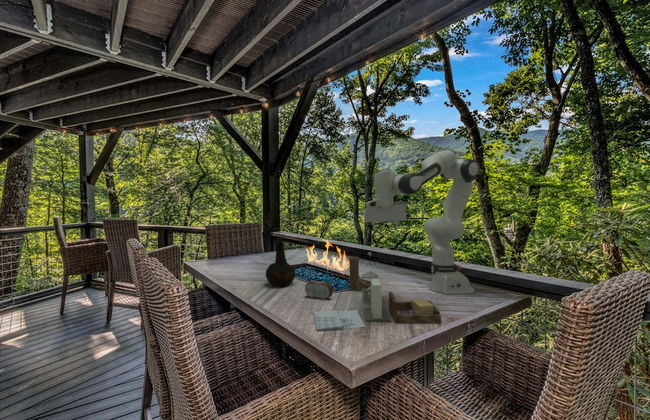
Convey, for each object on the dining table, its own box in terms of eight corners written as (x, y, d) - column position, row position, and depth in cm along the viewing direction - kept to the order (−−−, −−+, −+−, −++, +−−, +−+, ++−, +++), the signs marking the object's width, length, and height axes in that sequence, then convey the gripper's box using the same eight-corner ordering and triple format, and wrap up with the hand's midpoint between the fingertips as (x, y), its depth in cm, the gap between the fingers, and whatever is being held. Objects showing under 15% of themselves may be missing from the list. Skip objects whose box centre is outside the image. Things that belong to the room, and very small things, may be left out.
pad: (385, 309, 144) (385, 308, 144) (390, 321, 130) (390, 320, 130) (363, 309, 144) (363, 308, 144) (365, 321, 130) (365, 320, 130)
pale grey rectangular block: (379, 309, 142) (378, 278, 142) (381, 318, 131) (381, 285, 131) (371, 309, 143) (370, 278, 142) (373, 318, 132) (372, 285, 131)
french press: (376, 308, 145) (375, 254, 144) (353, 304, 151) (352, 252, 150) (384, 302, 153) (383, 251, 152) (362, 299, 159) (361, 249, 158)
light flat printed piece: (313, 314, 141) (313, 310, 141) (358, 312, 142) (358, 307, 142) (315, 333, 122) (315, 327, 122) (367, 330, 123) (367, 324, 123)
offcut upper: (424, 305, 141) (424, 298, 141) (433, 312, 132) (433, 305, 132) (411, 306, 140) (411, 299, 140) (420, 313, 131) (419, 306, 131)
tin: (333, 298, 161) (332, 282, 161) (330, 300, 158) (330, 283, 158) (307, 295, 167) (306, 279, 167) (304, 297, 164) (303, 281, 164)
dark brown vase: (280, 279, 203) (279, 235, 202) (301, 282, 192) (300, 237, 191) (259, 285, 188) (258, 238, 187) (281, 290, 178) (280, 240, 177)
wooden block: (367, 289, 176) (366, 256, 176) (366, 291, 172) (365, 258, 171) (351, 288, 179) (350, 256, 178) (349, 290, 174) (349, 258, 174)
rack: (429, 308, 144) (429, 291, 143) (441, 323, 127) (440, 303, 126) (388, 308, 145) (388, 291, 145) (394, 323, 128) (394, 303, 128)
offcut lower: (426, 312, 140) (426, 305, 140) (433, 320, 131) (433, 313, 131) (412, 312, 140) (412, 306, 140) (418, 320, 131) (418, 313, 131)
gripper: (404, 200, 156) (405, 228, 157) (363, 203, 157) (364, 230, 158) (407, 201, 150) (408, 230, 151) (363, 203, 151) (365, 232, 152)
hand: (385, 230), depth 154 cm, fingers open, 8 cm apart
